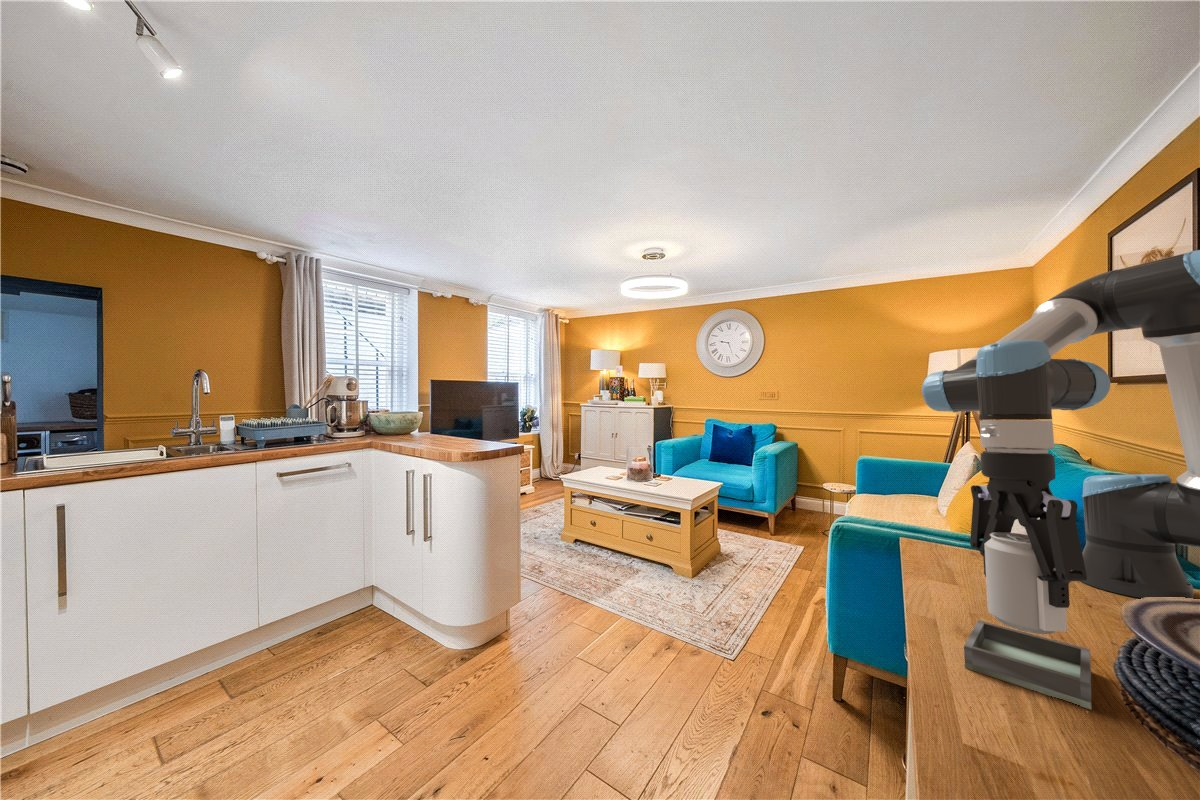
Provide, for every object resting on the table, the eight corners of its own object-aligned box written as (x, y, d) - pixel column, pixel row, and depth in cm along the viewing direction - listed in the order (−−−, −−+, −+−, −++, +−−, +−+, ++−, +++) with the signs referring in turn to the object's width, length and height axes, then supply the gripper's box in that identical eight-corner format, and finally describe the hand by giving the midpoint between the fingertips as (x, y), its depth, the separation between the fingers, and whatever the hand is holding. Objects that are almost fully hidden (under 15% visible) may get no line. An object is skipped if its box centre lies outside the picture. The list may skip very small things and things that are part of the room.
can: (1016, 635, 56) (1011, 542, 57) (974, 610, 64) (970, 528, 64) (1081, 639, 55) (1075, 544, 56) (1031, 613, 63) (1026, 530, 63)
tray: (979, 639, 67) (978, 620, 67) (1091, 671, 59) (1089, 649, 59) (965, 667, 60) (964, 645, 60) (1091, 709, 51) (1090, 683, 51)
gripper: (936, 446, 71) (942, 586, 70) (1059, 456, 51) (1070, 654, 50) (984, 446, 71) (991, 588, 69) (1127, 456, 50) (1140, 656, 49)
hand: (1024, 615), depth 59 cm, fingers closed on can, 7 cm apart
